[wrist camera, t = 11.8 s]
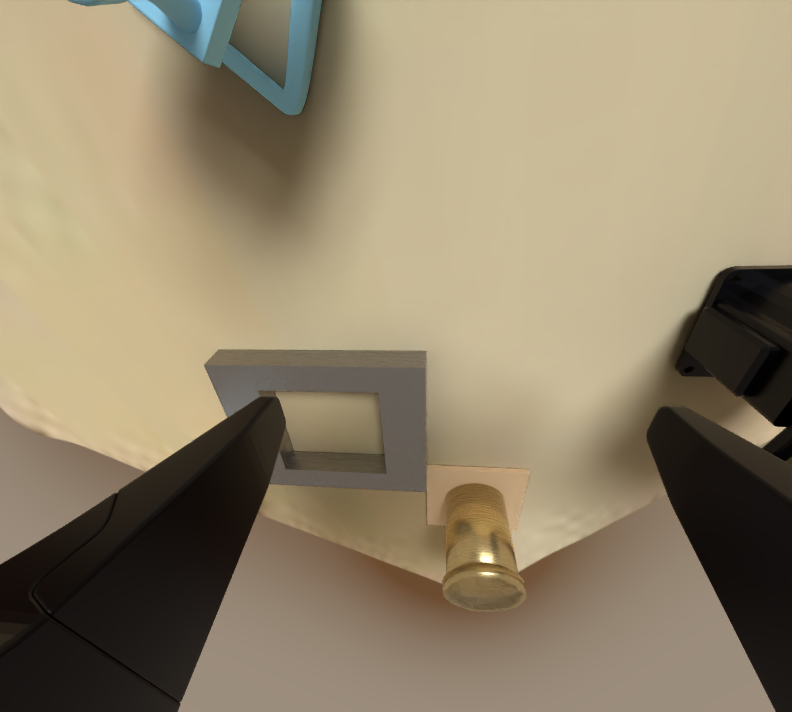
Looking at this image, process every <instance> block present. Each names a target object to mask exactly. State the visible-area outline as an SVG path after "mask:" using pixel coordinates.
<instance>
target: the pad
mask: <svg viewBox="0 0 792 712" xmlns="http://www.w3.org/2000/svg"><path fill="white" fill-rule="evenodd" d="M529 476H530V471H529V469H510V468H487V467H464V466H440V465H427V525H440V526H445V496H446V495H447V493H448V492H449V491H450V490H451V489H453V488H455V487H457V486H459V485H463V484H469V483H479V484H485V485H489V486H492V487H494V488H496V489H497V490H499V491H500V492H501V493H502V495H503V496H504V500H505V505H506V511H507V516H508V521H509V527H510V530H516V527H517V523H518V519H519V515H520V512H521V508H522V504H523V500H524V496H525V492H526V488H527V484H528V480H529Z"/></svg>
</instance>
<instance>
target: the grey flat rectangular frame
mask: <svg viewBox="0 0 792 712" xmlns="http://www.w3.org/2000/svg"><path fill="white" fill-rule="evenodd" d="M204 366H205V369H206V371H207V373H208V375H209V378H210V380H211V382H212V384H213V387H214V389H215V391H216V393H217V396H218V398H219V400H220V402H221V404H222V407H223V409H224V411H225V413H226V416H227V418H228V417H229V416H231V415H232V414H234V413H235V412H237V411H238V410H240V409H241V408H243V407H244V406H246V405H247V404H249V403H250V402H252V401H253V400H255V399H256V398H258V397H260V396H276V395H275V392H274V391H312V392H360V393H378V398H379V407H380V416H381V426H382V435H383V444H384V454H385V455H373V454H348V453H323V452H299V451H293V448H292V445H291V442H290V438H289V435H288V432H287V429H286V426H285V431H284V434H283V438H282V442H281V445H280V449H279V452H278V456H277V459H276V463H275V466H274V470H273V473H272V477H271V480H270V483H269V484H279V485H299V486H318V487H338V488H357V489H376V490H396V491H415V492H426V487H427V410H426V351H341V350H218V351H217V352H216V353H215V354H214V355H213V356H212V357H211V358H210V359H209V360H208V361H207V362H206V363H205V364H204Z"/></svg>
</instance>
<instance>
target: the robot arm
mask: <svg viewBox="0 0 792 712" xmlns="http://www.w3.org/2000/svg"><path fill="white" fill-rule="evenodd" d="M734 275H736V276H735V278H734V279H732V280H730V279H731V277H732V276H734ZM688 366H689V367H688ZM686 367H688V368H686ZM685 368H686V369H685ZM675 369H676V371H677V372H678V373H679V374H680V375H682V376H706V377H715V378H716V379H717V380H718V381H719V382H721V383H722V384H723V385H724V386H725V387H726V388H727V389H728V390H729V391H731V392H732V393H733V394H734V395H735V396H741V397H742V398H743V399H745V400H746V401H747V402H748V403H749V404H750V405H751V406H752V407H754V408H755V409H756V410H757V411H758V412H759V413H760V414H761V415H763V416H764V417H765V418H766V419H767V420H768V421H769V422H771V423H772V424H773V425H774V426H777V427H786V428H785V429H784V430H783V431H782V432H780V433H779V434H778V435H777V436H776V437H774V438H773V439H772V440H771V441H770V442H769V443H767V444H766V445H765V446H764V447H763V448H760V447H758V446H756V445H754V444H752V443H750V442H749V441H747V440H745V439H743V438H741V437H740V436H738V435H736V434H734V433H732V432H730V431H729V430H727V429H725V428H723V427H721V426H719V425H718V424H716V423H714V422H712V421H710V420H708V419H707V418H705V417H703V416H701V415H699V414H697V413H696V412H694V411H692V410H690V409H688V408H686V407H684V406H679V405H663V406H661V407H660V408H658V410H657V412H656V414H655V416H654V418H653V420H652V422H651V424H650V426H649V428H648V430H647V442H648V445H649V447H650V450H651V453H652V455H653V458H654V460H655V463H656V466H657V468H658V471H659V474H660V476H661V479H662V482H663V484H664V487H665V490H666V492H667V495H668V497H669V500H670V502H671V504H672V506H673V509H674V510H675V513H676V515H677V517H678V519H679V521H680V523H681V525H682V527H683V529H684V531H685V533H686V535H687V536H688V538H689V541H690V543H691V545H692V547H693V549H694V551H695V553H696V555H697V557H698V559H699V561H700V562H701V564H702V566H703V568H704V570H705V572H706V574H707V576H708V578H709V580H710V582H711V584H712V586H713V588H714V590H715V592H716V594H717V596H718V598H719V600H720V602H721V604H722V606H723V608H724V610H725V612H726V614H727V616H728V618H729V620H730V622H731V624H732V626H733V628H734V630H735V632H736V634H737V636H738V638H739V640H740V642H741V644H742V646H743V648H744V650H745V652H746V654H747V656H748V658H749V660H750V662H751V663H752V666H753V668H754V670H755V671H756V673H757V675H758V677H759V679H760V681H761V683H762V685H763V687H764V689H765V691H766V693H767V695H768V697H769V699H770V701H771V703H772V705H773V707H774V709H775V711H776V712H792V265H785V266H735V267H730V268H728V269H726V270H724V271H723V272H722V273H721V275H720V276H719V278H718V280H717V282H716V284H715V286H714V288H713V290H712V292H711V294H710V296H709V298H708V300H707V302H706V304H705V306H704V308H703V311H702V313H701V315H700V317H699V319H698V321H697V323H696V325H695V327H694V329H693V331H692V333H691V335H690V337H689V339H688V341H687V343H686V345H685V347H684V349H683V351H682V353H681V355H680V358H679V360H678V362H677V364H676V366H675ZM285 426H286V421H285V417H284V414H283V410H282V407H281V404H280V401H279V399H278V398H277V397H276V396H260V397H258V398H256V399H255V400H253V401H252V402H250V403H249V404H247V405H246V406H244V407H243V408H241V409H240V410H238V411H237V412H235V413H234V414H232V415H231V416H229V417H228V418H226V419H225V420H223V421H222V422H220V423H219V424H217V425H216V426H214V427H213V428H211V429H210V430H208V431H207V432H205V433H204V434H202V435H201V436H199V437H198V438H196V439H195V440H193V441H192V442H190V443H189V444H187V445H186V446H184V447H183V448H181V449H180V450H178V451H177V452H175V453H174V454H172V455H171V456H169V457H168V458H166V459H165V460H163V461H162V462H160V463H159V464H157V465H156V466H154V467H153V468H151V469H150V470H148V471H147V472H145V473H144V474H142V475H141V476H140V477H138V478H136V479H135V480H133V481H132V482H130V483H129V484H127V485H126V486H125V487H123V488H121V489H120V490H119V492H118V493H114V494H112V495H111V496H109V497H108V498H106V499H105V500H104V501H102V502H100V503H99V504H97V505H96V506H94V507H93V508H91V509H90V510H88V511H86V512H85V513H83V514H82V515H80V516H79V517H77V518H76V519H74V520H73V521H71V522H69V523H68V524H66V525H65V526H63V527H62V528H60V529H58V530H57V531H55V532H53V533H52V534H50V535H49V536H47V537H45V538H44V539H42V540H40V541H39V542H37V543H35V544H34V545H32V546H30V547H29V548H27V549H26V550H24V551H22V552H21V553H19V554H17V555H16V556H14V557H12V558H10V559H9V560H7V561H5V562H4V563H2V564H0V712H178V709H179V707H180V702H181V701H182V699H183V696H184V694H185V691H186V689H187V686H188V684H189V681H190V679H191V677H192V674H193V672H194V669H195V667H196V664H197V662H198V659H199V657H200V654H201V652H202V649H203V647H204V644H205V642H206V639H207V637H208V634H209V632H210V629H211V627H212V625H213V622H214V620H215V617H216V615H217V612H218V610H219V607H220V605H221V602H222V599H223V597H224V595H225V592H226V590H227V587H228V585H229V582H230V580H231V578H232V575H233V573H234V570H235V568H236V565H237V563H238V560H239V557H240V555H241V553H242V550H243V548H244V546H245V543H246V541H247V538H248V535H249V533H250V531H251V528H252V525H253V523H254V521H255V518H256V516H257V513H258V511H259V508H260V506H261V503H262V501H263V499H264V496H265V494H266V491H267V488H268V486H269V483H270V480H271V477H272V473H273V470H274V466H275V463H276V459H277V456H278V452H279V449H280V445H281V442H282V438H283V434H284V431H285Z"/></svg>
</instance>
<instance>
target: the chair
mask: <svg viewBox="0 0 792 712" xmlns="http://www.w3.org/2000/svg"><path fill="white" fill-rule="evenodd" d="M68 1H70V2H73V3H76V4H80V5H84V6H97V5H106V4H118V3H123V2H126V1H128V2H129V3H130V4H132V5H133V6H134V7H135V8H136V9H137V10H139V11H140V12H141V13H142V14H143V15H145V16H146V17H147V18H148V19H149V20H150V21H152V22H153V23H154V24H155V25H156V26H158V27H159V28H160V29H161V30H163V31H164V32H165V33H166V34H167V35H169V36H170V37H171V38H172V39H174V40H175V41H176V42H177V43H179V44H180V45H181V46H182V47H183V48H185V49H186V50H187V51H188V52H190V53H191V54H192V55H193V56H194V57H196V58H197V59H198V60H199V61H201V62H202V63H203V64H207V65H210V66H214V67H217V68H220V66H221V63H224V64H225V65H226V66H227V67H228V68H230V69H231V70H232V71H233V72H234V73H236V74H237V75H238V76H239V77H241V78H242V79H243V80H244V81H245V82H247V83H248V84H249V85H250V86H251V87H253V88H254V89H255V90H256V91H257V92H259V93H260V94H261V95H262V96H263V97H265V98H266V99H267V100H268V101H270V102H271V103H272V104H273V105H274V106H276V107H277V108H278V109H279V110H280V111H282V112H283V113H285V114H287V115H299V114H300V113H301V112H302V110H303V107H304V105H305V102H306V98H307V94H308V89H309V85H310V79H311V73H312V66H313V60H314V54H315V47H316V40H317V33H318V26H319V18H320V11H321V4H322V0H292V1H291V15H290V29H289V43H288V56H287V69H286V80H285V86H284V88H283V89H282V88H281V87H280V86H279V85H277V84H276V83H275V82H274V81H273V80H272V79H270V78H269V77H268V76H267V75H266V74H265V73H263V72H262V71H261V70H260V69H259V68H257V67H256V66H255V65H254V64H253V63H252V62H250V61H249V60H248V59H247V58H246V57H245V56H243V55H242V54H241V53H240V52H239V51H237V50H236V49H235V48H234V47H233V46H232V45H230V44H229V43H228V42H229V39H230V36H231V33H232V31H233V28H234V25H235V22H236V19H237V15H238V12H239V8H240V4H241V1H242V0H68Z"/></svg>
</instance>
